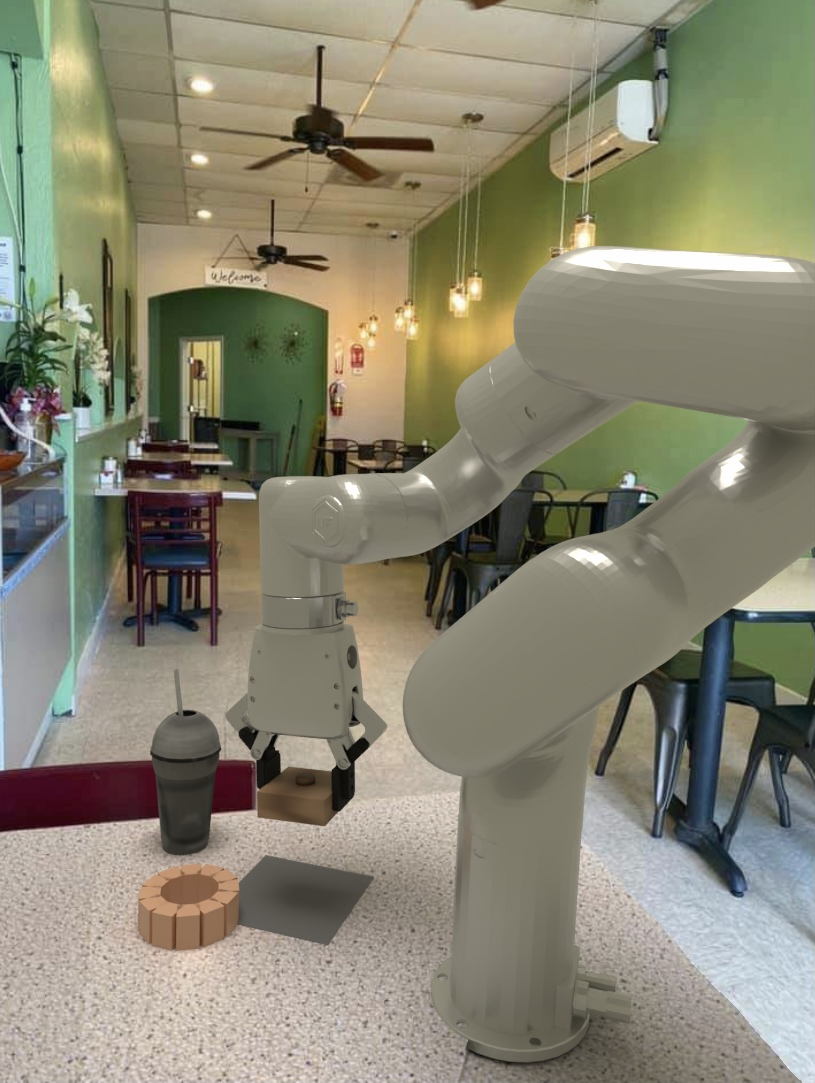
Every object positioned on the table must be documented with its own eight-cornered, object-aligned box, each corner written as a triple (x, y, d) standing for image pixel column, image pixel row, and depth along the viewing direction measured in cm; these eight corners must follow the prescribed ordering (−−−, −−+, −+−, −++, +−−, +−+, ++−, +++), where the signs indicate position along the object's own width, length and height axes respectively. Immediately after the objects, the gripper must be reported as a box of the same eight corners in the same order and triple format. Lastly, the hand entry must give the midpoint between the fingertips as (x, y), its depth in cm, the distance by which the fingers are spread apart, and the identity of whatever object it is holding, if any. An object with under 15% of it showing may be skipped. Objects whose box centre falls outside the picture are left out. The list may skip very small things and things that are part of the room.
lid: (351, 797, 78) (351, 767, 78) (324, 826, 72) (324, 793, 72) (288, 790, 80) (288, 760, 80) (257, 817, 74) (256, 785, 74)
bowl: (255, 914, 76) (255, 874, 76) (206, 969, 68) (206, 925, 68) (174, 896, 79) (174, 857, 78) (118, 947, 71) (118, 904, 70)
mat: (373, 886, 82) (374, 876, 82) (327, 955, 71) (328, 944, 71) (265, 864, 86) (266, 855, 85) (205, 926, 74) (205, 916, 74)
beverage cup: (201, 874, 83) (203, 683, 81) (136, 865, 84) (136, 676, 82) (231, 841, 90) (233, 664, 88) (170, 833, 91) (171, 658, 89)
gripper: (405, 609, 76) (406, 796, 77) (238, 601, 81) (241, 777, 82) (379, 624, 69) (380, 829, 70) (197, 614, 74) (202, 806, 75)
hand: (305, 799), depth 76 cm, fingers closed on lid, 6 cm apart
